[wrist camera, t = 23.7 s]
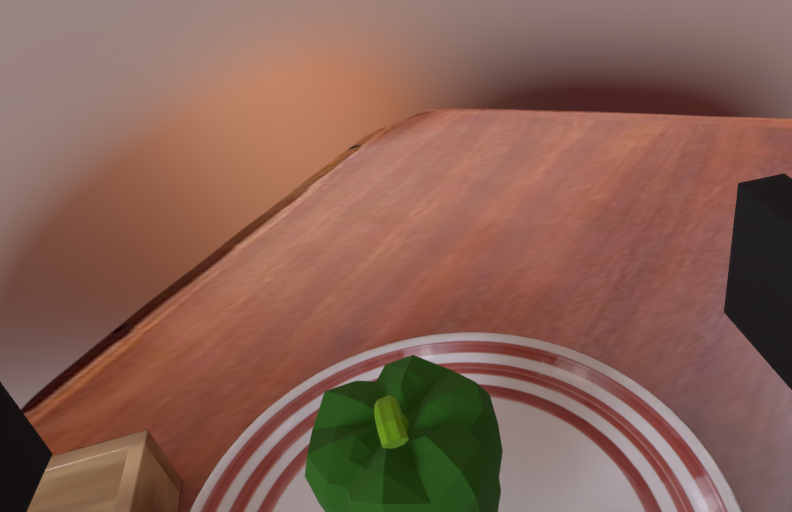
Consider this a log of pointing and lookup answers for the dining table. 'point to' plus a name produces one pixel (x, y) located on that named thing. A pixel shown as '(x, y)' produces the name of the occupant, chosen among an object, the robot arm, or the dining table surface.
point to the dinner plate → (501, 434)
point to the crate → (110, 479)
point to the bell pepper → (406, 443)
